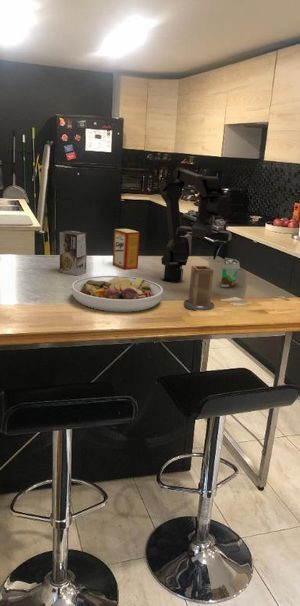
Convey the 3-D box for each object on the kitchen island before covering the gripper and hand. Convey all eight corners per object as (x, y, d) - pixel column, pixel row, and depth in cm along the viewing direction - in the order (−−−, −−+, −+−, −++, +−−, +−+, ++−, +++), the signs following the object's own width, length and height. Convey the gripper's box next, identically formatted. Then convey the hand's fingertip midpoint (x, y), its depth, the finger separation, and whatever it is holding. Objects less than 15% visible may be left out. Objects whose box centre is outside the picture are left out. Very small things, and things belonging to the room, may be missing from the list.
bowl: (61, 291, 172) (62, 269, 169) (141, 287, 184) (142, 266, 181) (86, 318, 146) (86, 293, 143) (177, 312, 157) (179, 288, 155)
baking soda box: (112, 265, 214) (114, 228, 210) (125, 263, 218) (126, 227, 213) (125, 269, 207) (126, 231, 202) (137, 268, 211) (139, 231, 206)
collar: (188, 300, 165) (191, 265, 161) (204, 300, 166) (207, 266, 162) (193, 306, 159) (196, 269, 156) (209, 305, 161) (213, 270, 157)
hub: (179, 308, 160) (181, 293, 159) (188, 300, 169) (190, 286, 168) (209, 313, 157) (211, 298, 155) (217, 305, 166) (218, 291, 164)
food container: (236, 291, 185) (239, 265, 182) (220, 289, 186) (223, 263, 184) (237, 283, 197) (240, 259, 194) (222, 281, 198) (225, 257, 195)
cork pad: (219, 301, 171) (219, 299, 171) (235, 298, 176) (235, 296, 176) (237, 307, 165) (237, 306, 165) (252, 304, 170) (252, 302, 170)
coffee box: (86, 273, 197) (88, 233, 193) (76, 275, 192) (77, 234, 187) (69, 269, 202) (70, 229, 197) (58, 271, 197) (59, 231, 192)
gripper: (173, 212, 167) (169, 257, 172) (227, 218, 161) (222, 265, 166) (182, 210, 177) (179, 252, 182) (234, 215, 171) (229, 259, 176)
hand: (201, 257), depth 176 cm, fingers open, 9 cm apart
